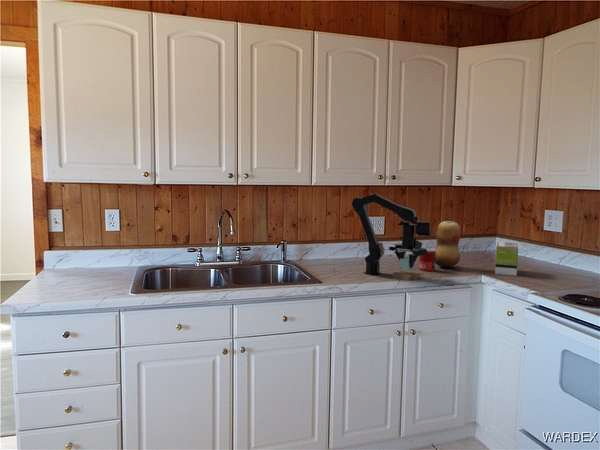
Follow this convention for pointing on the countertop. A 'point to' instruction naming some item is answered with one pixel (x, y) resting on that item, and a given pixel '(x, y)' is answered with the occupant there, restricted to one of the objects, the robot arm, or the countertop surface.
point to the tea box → (506, 258)
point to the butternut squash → (447, 244)
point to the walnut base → (406, 275)
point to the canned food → (427, 260)
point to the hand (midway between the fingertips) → (406, 267)
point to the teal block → (405, 264)
